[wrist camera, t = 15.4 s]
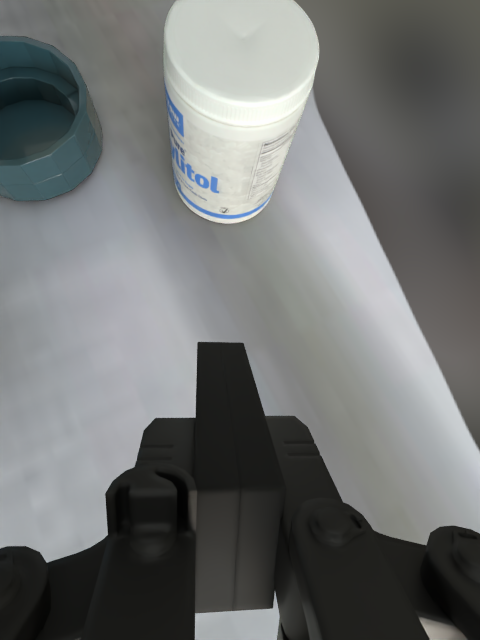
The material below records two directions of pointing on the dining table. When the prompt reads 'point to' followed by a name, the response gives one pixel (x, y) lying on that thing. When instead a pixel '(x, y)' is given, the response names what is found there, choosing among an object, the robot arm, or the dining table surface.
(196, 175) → the supplement tub
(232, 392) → the robot arm
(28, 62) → the bowl
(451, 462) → the dining table surface
